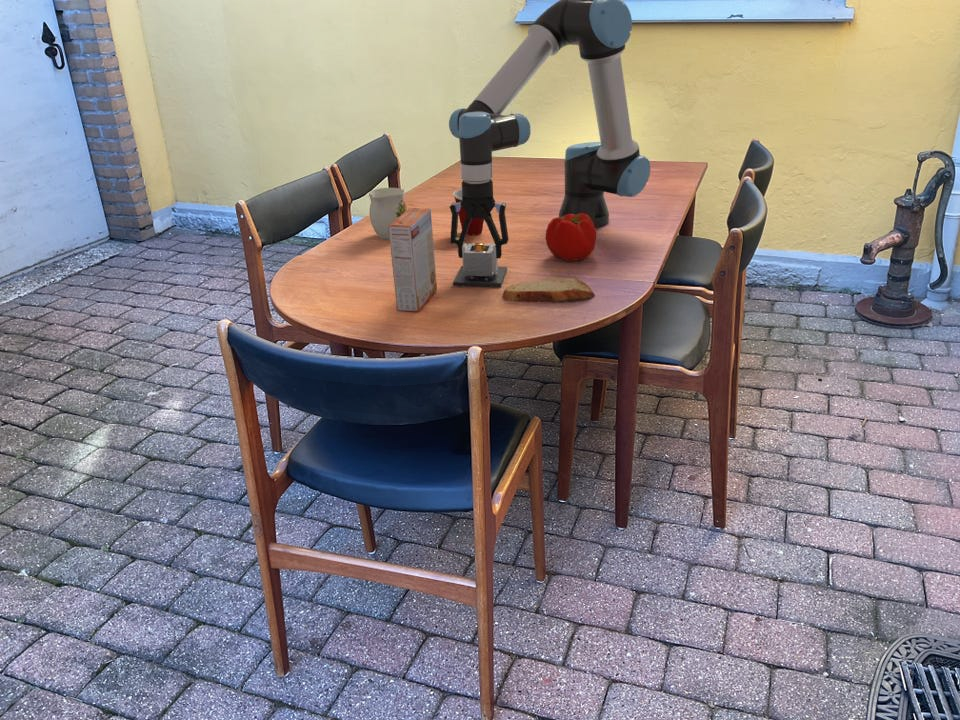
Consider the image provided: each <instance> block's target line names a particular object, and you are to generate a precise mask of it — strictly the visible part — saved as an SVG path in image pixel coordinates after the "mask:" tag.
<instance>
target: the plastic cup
mask: <svg viewBox="0 0 960 720" xmlns="http://www.w3.org/2000/svg"><path fill="white" fill-rule="evenodd" d="M452 195H453V196H452V197H453V198H454V201H455V203H459V202H461V201H462V188H461V189H458V190H454V191H453V192H452ZM466 216H467V213H466V212H465V211H464V209H463V208H462V207H460V211H459V212H458V220H459V223H460V226H461V227H460V228H461V230H462V229H463V226H464V223H465V219H466ZM484 222H485V220H484V219H481V218H475V219H474V218H472V219H471V222H470V225H469V228H468V231H467V234H466V236H469V237H470V236H479V235H481V234H482V233H483V229H484Z"/></svg>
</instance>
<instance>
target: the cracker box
mask: <svg viewBox="0 0 960 720" xmlns="http://www.w3.org/2000/svg"><path fill="white" fill-rule="evenodd" d="M388 229H389V238H390V239H389V246H390V255H391V264H392V274H393V275H392V276H393V285H394V294H395V303H396V304H395V305H396V311H398V312H399V311H400V312H411V313H420V312H421V310H422V309H423V307H425V305H426V304H427V303H428V302H429V301H430V299H431V298H432V297H433V296H434V294H435V293H436V292H437V290H438V285H437V283H438V282H437V274H436V259H435V249H434V246H435V245H434V238H433V237H434V233H433V232H434V231H433V222H432V209H431V208H420V207H419V208H418V207H410V208H409V207H408V208H407V210H406V211H405V212H404V213H403V214H402V215H401V216H399V217H398V218H397V219H396V220H395V221H394V222H392V223H391V224H390V225H389V226H388Z"/></svg>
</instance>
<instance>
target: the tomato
mask: <svg viewBox="0 0 960 720" xmlns="http://www.w3.org/2000/svg"><path fill="white" fill-rule="evenodd" d="M596 242H597V228H596V227H595V226H594V222H593V221H592V220H591V219H590V217H589V215H587V214H584V213H580V214H579V215H578V214H576V215H575V214H567V215H565V216H563V217H561V218H559V216H557V217H554V218H552V219H551V220H550V222H549V223H548V224H547V227H546V230H545V243H546V246H547V248H548V250H549V251H550V253H551V254H552V255H554V256H555V257H557V258H558V259H563V260H565V261H567V262H573V261H581V260H584V259H586V258H588V257H589V256H590V255H591V254H592V253H593V252H594V250H595V248H596Z"/></svg>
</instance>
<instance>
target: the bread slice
mask: <svg viewBox="0 0 960 720" xmlns="http://www.w3.org/2000/svg"><path fill="white" fill-rule="evenodd" d="M594 297H596V295H595V293H594V291H593V290H592V288H591V287H590V286H589V285H588V284H587V283H585V282H583V281H582V280H581V279H578V278H576V277H570V278H569V277H551V278H549V277H548V278H539V279H537V280H529V281H523V282H519V283H515V284H513V285H510V286H508V287H506V288H505V289H504V291H503V293H502V295H501V299H503V300H504V301H508V302H518V303H519V302H520V303H565V302H570V303H571V302H575V301H584V300H585V301H586V300H590V299H591V298H594Z"/></svg>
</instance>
